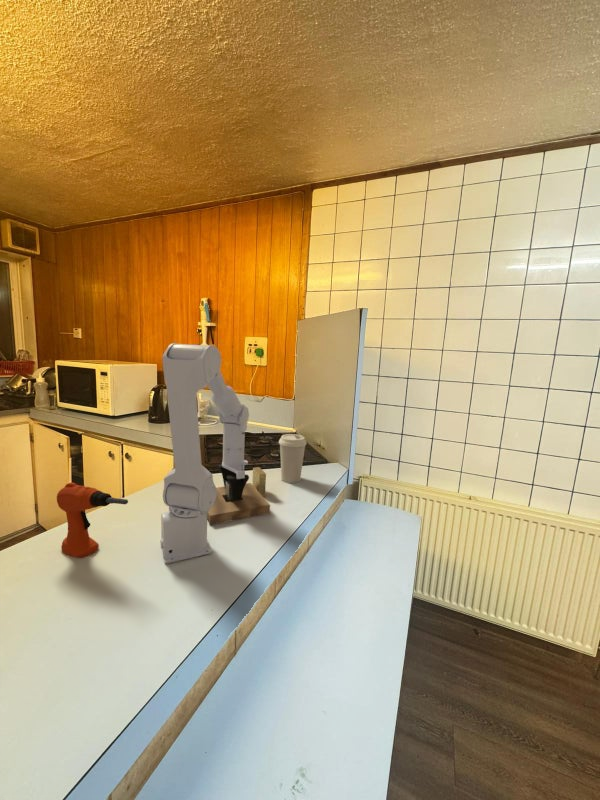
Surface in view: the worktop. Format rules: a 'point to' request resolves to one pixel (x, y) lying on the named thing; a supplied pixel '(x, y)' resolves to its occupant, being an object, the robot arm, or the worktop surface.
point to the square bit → (228, 493)
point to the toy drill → (81, 517)
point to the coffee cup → (291, 456)
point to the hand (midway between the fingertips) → (232, 494)
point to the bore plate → (237, 506)
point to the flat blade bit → (259, 480)
